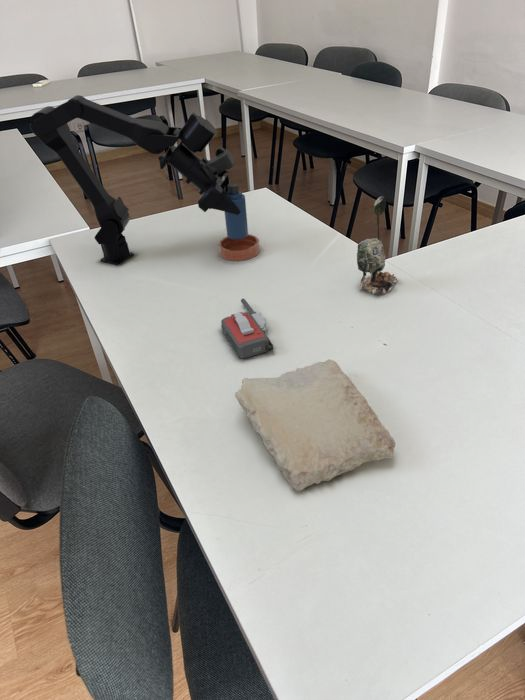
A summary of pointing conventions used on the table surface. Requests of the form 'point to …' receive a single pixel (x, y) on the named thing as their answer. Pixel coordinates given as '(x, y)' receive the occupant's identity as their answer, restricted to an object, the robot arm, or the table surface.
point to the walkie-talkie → (246, 332)
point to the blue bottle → (234, 222)
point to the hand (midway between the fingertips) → (240, 208)
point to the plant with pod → (374, 260)
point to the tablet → (314, 423)
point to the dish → (239, 248)
